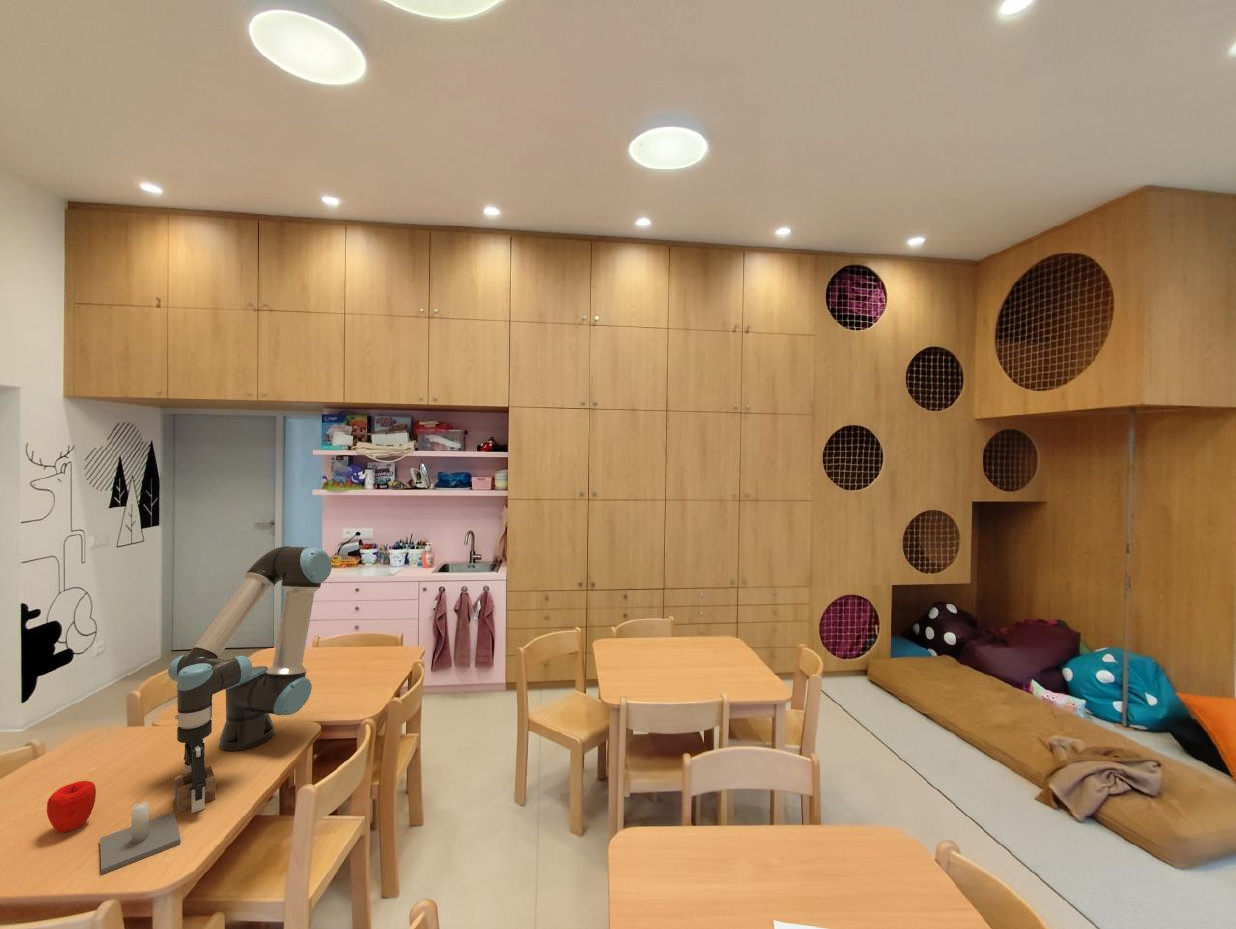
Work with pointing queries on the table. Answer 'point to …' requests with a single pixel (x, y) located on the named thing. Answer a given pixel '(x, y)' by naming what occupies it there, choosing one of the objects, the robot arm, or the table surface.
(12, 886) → the table surface
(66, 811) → the apple
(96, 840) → the table surface
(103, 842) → the stand
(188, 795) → the frame
